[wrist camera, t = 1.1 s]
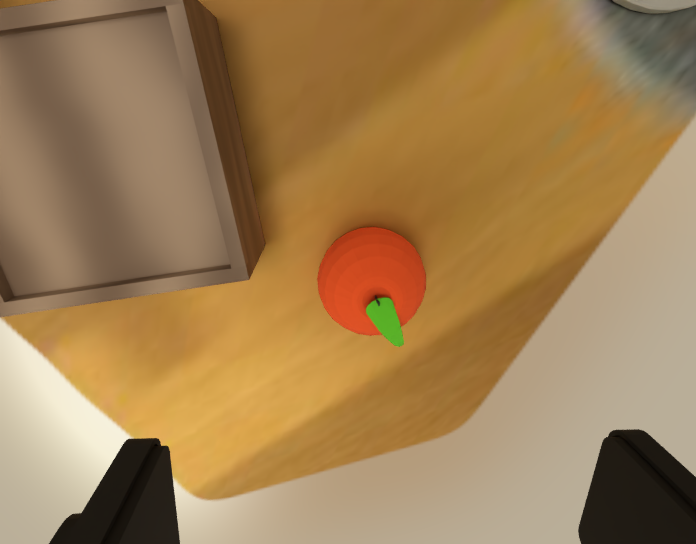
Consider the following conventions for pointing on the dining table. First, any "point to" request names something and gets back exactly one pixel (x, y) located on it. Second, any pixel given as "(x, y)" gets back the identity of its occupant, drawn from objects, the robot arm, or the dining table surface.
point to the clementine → (372, 282)
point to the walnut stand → (118, 155)
